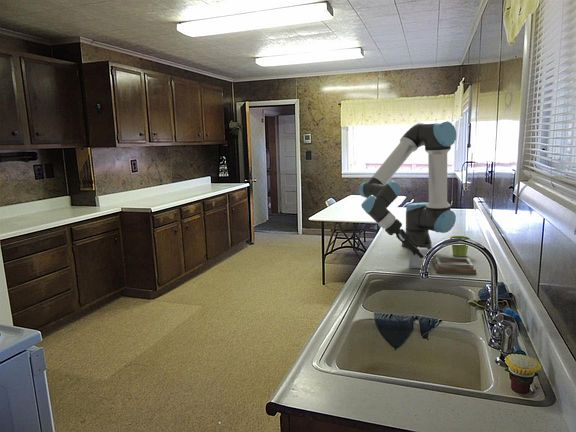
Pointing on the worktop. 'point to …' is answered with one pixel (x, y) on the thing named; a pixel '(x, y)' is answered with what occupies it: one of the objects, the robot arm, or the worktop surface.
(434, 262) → the walnut stand
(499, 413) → the worktop surface
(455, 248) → the plant pot
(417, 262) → the medicine box
